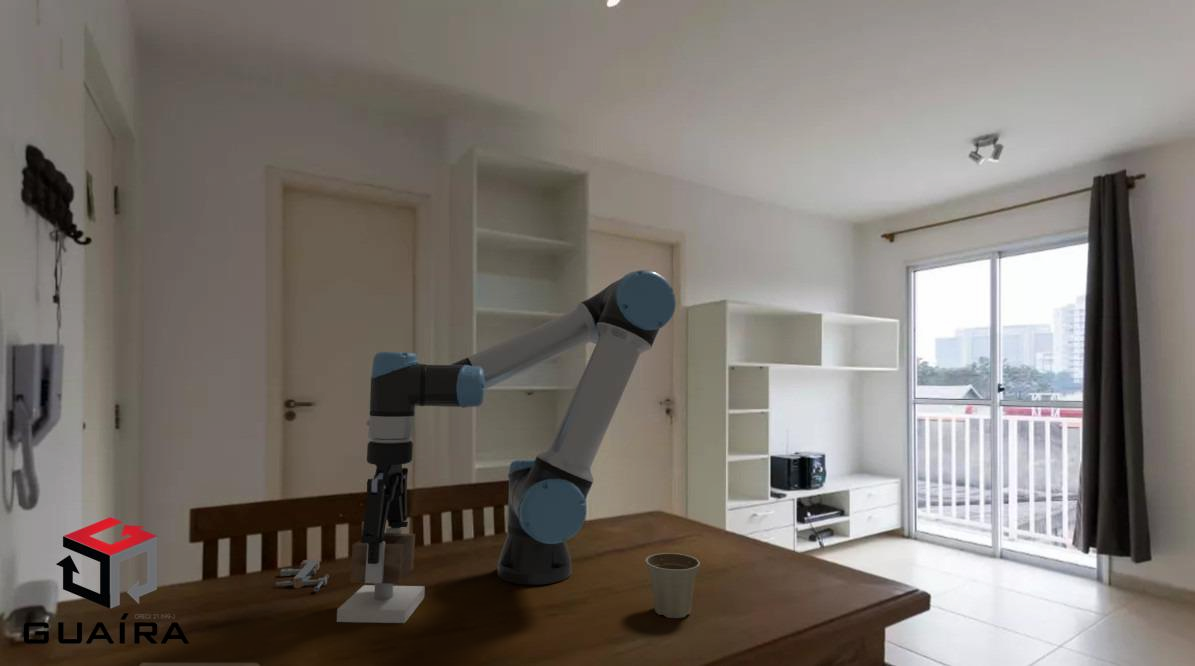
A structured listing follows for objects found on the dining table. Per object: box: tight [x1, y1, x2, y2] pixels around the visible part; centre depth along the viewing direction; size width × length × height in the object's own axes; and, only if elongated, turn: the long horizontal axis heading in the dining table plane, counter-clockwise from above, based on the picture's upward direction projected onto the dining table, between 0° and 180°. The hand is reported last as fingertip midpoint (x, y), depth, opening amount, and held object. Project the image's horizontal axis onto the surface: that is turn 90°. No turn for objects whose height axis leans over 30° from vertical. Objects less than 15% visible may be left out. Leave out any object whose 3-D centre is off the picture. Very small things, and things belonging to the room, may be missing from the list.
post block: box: [336, 583, 426, 624], centre depth 100 cm, size 11×11×10 cm
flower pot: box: [645, 552, 701, 619], centre depth 102 cm, size 9×9×9 cm
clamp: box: [275, 559, 330, 593], centre depth 113 cm, size 15×2×10 cm
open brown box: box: [349, 532, 416, 585], centre depth 101 cm, size 8×8×6 cm
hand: (383, 573), depth 100 cm, fingers closed on open brown box, 8 cm apart
